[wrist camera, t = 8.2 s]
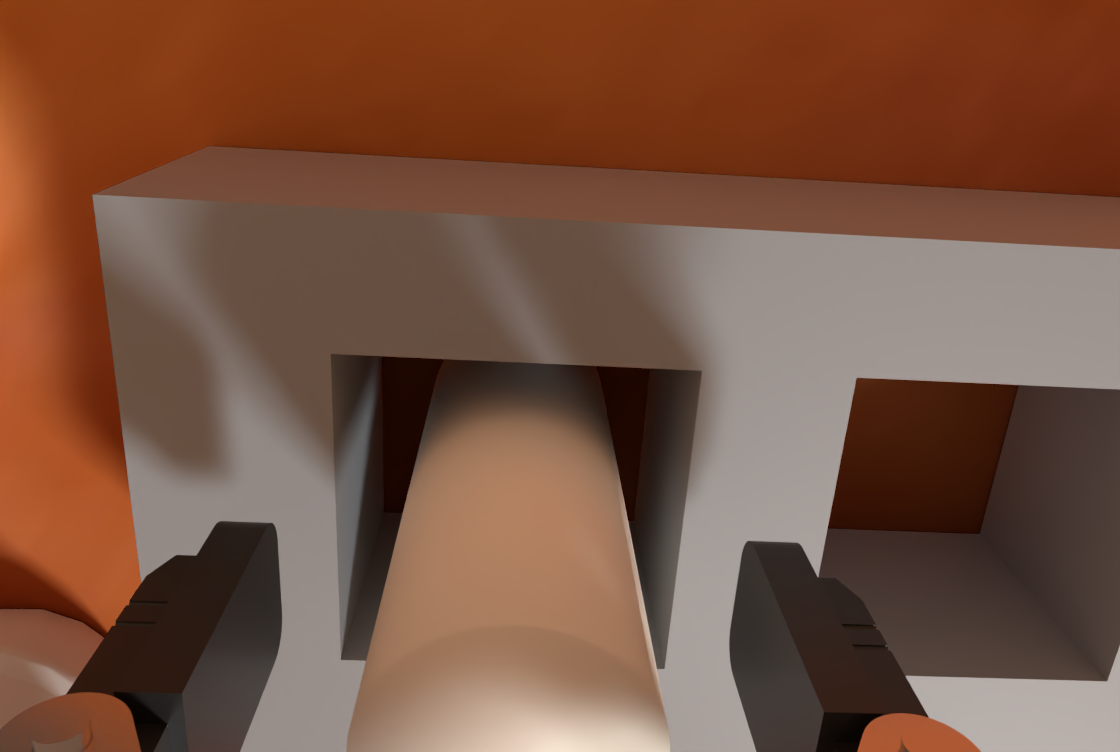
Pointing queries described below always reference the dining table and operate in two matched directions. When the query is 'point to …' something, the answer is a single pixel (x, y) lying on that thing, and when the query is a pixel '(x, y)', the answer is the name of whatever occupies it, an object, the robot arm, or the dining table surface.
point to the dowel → (512, 580)
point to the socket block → (671, 407)
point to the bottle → (40, 657)
